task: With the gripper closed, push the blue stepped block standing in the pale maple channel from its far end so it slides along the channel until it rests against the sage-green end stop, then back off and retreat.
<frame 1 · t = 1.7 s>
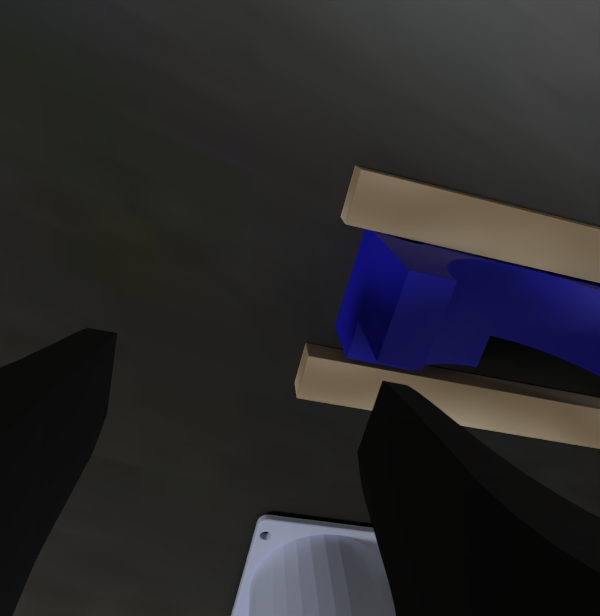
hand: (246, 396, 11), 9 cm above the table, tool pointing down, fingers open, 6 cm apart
blue stepped block: (479, 303, 22), resting in channel
channel: (541, 328, 22), on the table
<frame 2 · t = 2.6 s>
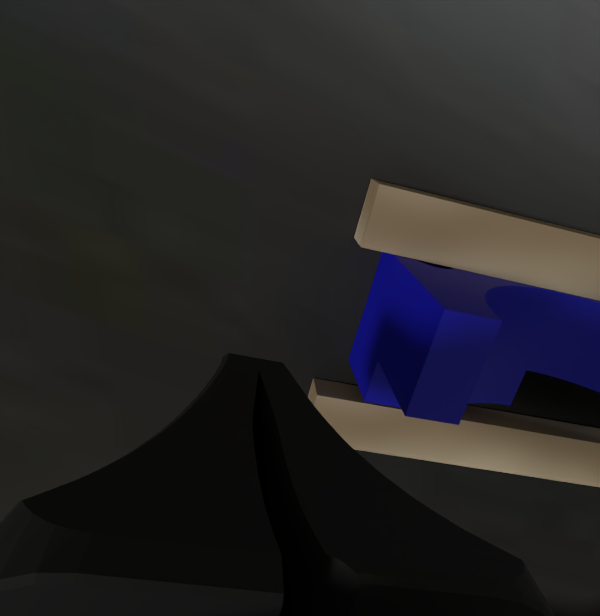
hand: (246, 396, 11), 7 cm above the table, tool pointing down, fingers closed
blue stepped block: (511, 331, 19), resting in channel
channel: (578, 360, 20), on the table
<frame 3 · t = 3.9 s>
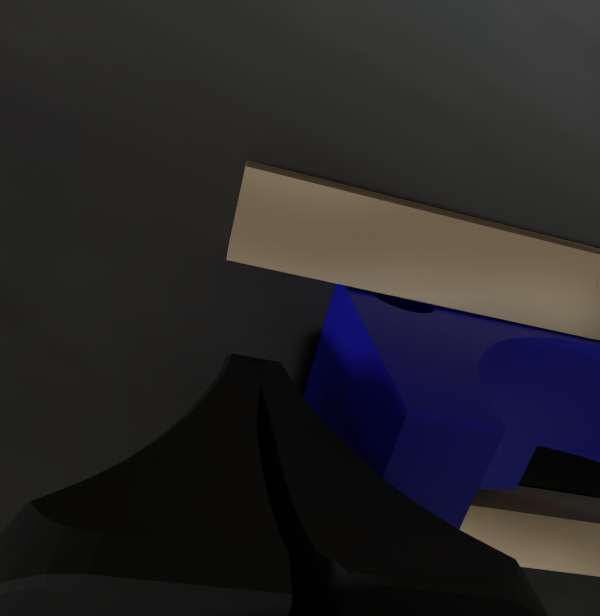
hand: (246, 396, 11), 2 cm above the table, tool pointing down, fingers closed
blue stepped block: (517, 387, 14), resting in channel, touching gripper
channel: (552, 410, 15), on the table
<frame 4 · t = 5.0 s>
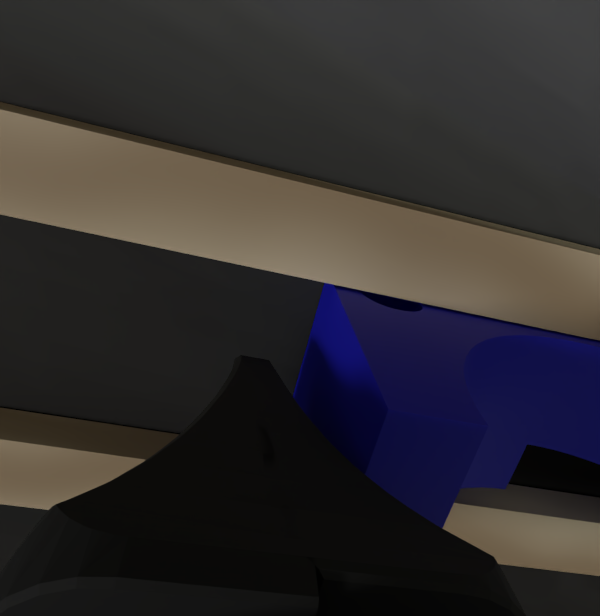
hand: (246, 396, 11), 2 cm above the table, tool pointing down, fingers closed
blue stepped block: (507, 385, 14), resting in channel, touching gripper
channel: (372, 378, 14), on the table
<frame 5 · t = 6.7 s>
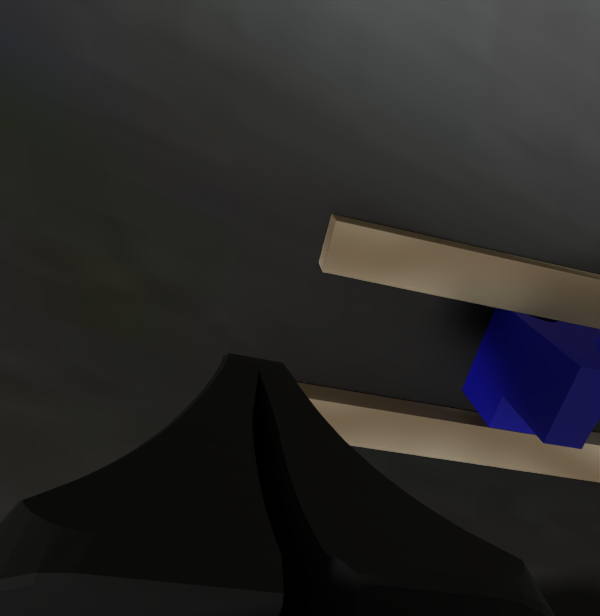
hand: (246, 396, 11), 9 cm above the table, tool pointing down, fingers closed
blue stepped block: (593, 365, 24), resting in channel
channel: (517, 364, 23), on the table
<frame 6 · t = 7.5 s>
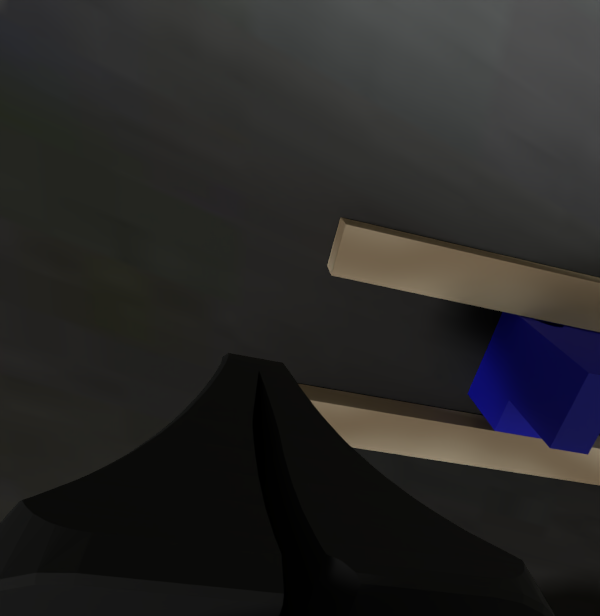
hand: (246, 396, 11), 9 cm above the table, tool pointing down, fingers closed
blue stepped block: (597, 370, 24), resting in channel
channel: (523, 368, 23), on the table
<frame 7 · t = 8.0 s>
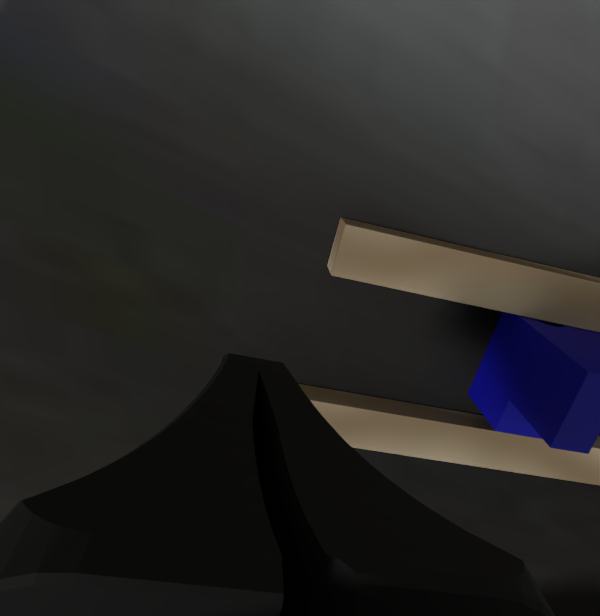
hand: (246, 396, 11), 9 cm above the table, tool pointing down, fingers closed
blue stepped block: (598, 369, 24), resting in channel
channel: (523, 368, 23), on the table
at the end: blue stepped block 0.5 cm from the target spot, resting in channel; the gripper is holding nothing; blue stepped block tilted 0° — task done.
